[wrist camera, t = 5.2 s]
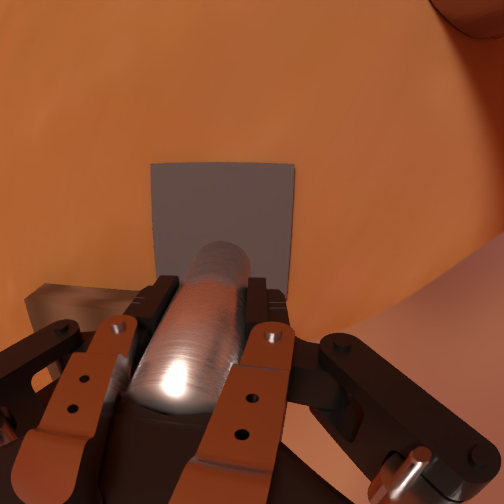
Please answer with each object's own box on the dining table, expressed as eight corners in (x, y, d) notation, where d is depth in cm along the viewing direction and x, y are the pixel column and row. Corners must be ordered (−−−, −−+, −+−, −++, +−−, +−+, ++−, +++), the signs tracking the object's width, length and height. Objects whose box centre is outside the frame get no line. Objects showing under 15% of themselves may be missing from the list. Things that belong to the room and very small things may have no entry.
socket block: (208, 294, 23) (202, 317, 20) (214, 387, 27) (210, 413, 23) (44, 283, 23) (24, 299, 20) (69, 367, 27) (55, 387, 23)
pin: (251, 241, 15) (242, 389, 6) (251, 296, 16) (244, 462, 7) (191, 240, 15) (104, 375, 6) (195, 294, 16) (136, 450, 7)
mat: (293, 164, 20) (294, 164, 20) (286, 296, 24) (286, 298, 23) (152, 164, 20) (150, 164, 20) (159, 292, 23) (158, 294, 23)
